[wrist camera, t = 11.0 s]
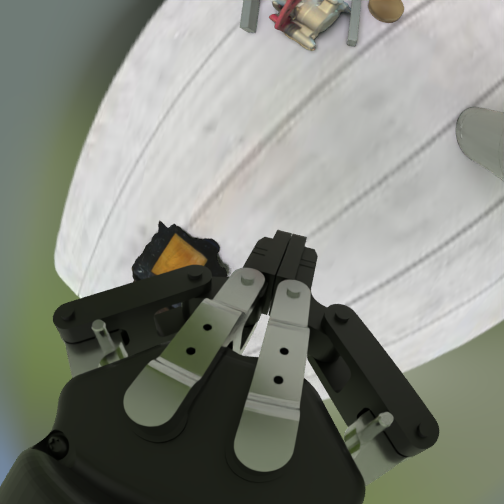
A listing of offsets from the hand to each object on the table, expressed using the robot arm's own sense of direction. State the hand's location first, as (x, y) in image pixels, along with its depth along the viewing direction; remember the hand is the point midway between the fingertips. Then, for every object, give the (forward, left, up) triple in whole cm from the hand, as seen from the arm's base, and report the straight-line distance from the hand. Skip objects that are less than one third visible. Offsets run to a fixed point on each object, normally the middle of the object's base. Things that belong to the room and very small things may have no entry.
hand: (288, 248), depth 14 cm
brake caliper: (+5, -21, -32) cm, 39 cm away
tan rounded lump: (-6, -25, -32) cm, 41 cm away
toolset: (+24, +42, -33) cm, 58 cm away
